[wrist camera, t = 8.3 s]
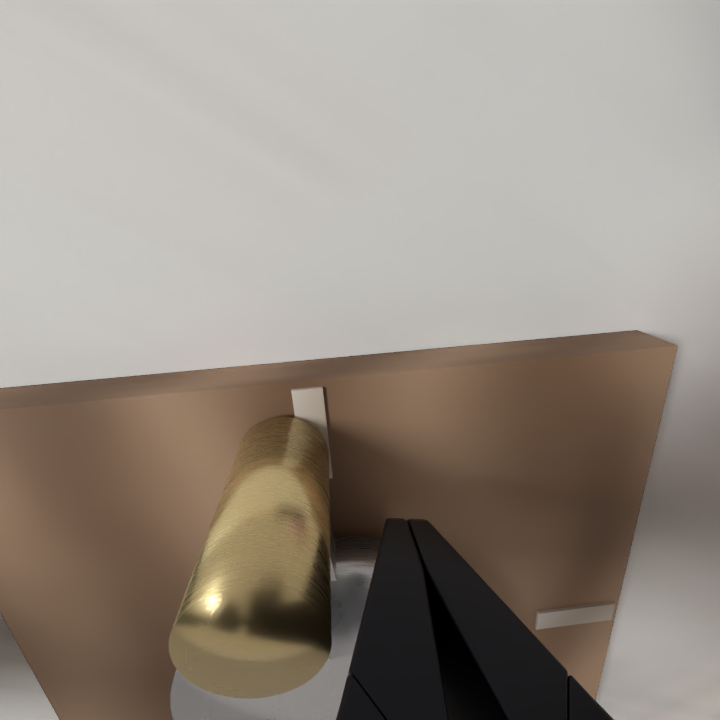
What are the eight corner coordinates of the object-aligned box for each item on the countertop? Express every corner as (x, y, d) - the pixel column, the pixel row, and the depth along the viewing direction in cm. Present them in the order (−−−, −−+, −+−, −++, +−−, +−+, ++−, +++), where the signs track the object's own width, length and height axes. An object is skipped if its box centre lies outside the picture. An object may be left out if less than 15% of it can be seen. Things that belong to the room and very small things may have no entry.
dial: (489, 709, 15) (561, 925, 11) (236, 761, 15) (196, 1005, 11) (462, 381, 10) (577, 522, 6) (80, 453, 10) (-131, 661, 5)
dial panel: (139, 787, 18) (122, 838, 17) (-52, 393, 11) (-111, 421, 9) (561, 725, 19) (581, 769, 18) (636, 330, 12) (680, 347, 11)
